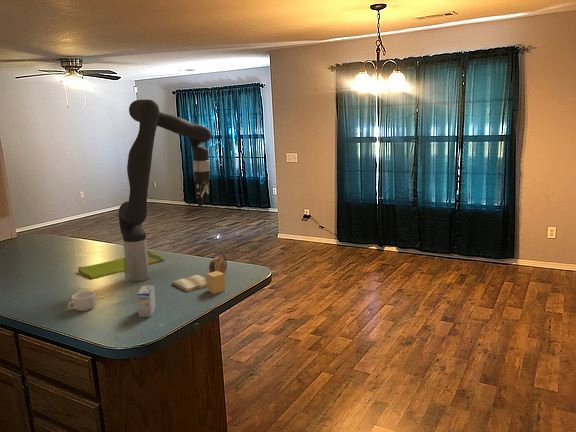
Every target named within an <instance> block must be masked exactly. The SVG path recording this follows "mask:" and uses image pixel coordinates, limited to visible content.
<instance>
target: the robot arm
mask: <svg viewBox="0 0 576 432" xmlns="http://www.w3.org/2000/svg"><path fill="white" fill-rule="evenodd" d="M128 113H129V115H130V117H131V119H132V120H134V121H135V122H138V123H139V128H138V133H137V136H136V139H135V140H134V141H133V144H132V146H131V147H130V150H129V152H128V157H127V165H126V173H127V178H128V184H129V195H128V196H129V198H128V201H125V202H123V203H122V204H121V205H120V206H119V207H118V220H119V221H118V222H119V228H120V234H121V236H122V239H123V240H122V242H123V251H124V253H123V254H124V257H122V258H123V261H124V271H123V272H124V278H125V279H124V280H127V281H128V282H130V283H134V282H142V281H146V280H148V279H150V267H149V266H150V265H149V264H148V253H147V251H148V245H147V243H148V242H147V234H146V231H145V228H144V227H143V225H142V224H143V223H144V222H145V220H146V218H147V215H148V191H149V184H150V177H151V176H150V175H151V169H152V160H153V150H154V144H155V136H156V131H157V129H158V128H157V127H159V128H162V129H165V130H167V131H169V132H172V133H174V134H177V135H180V136H181V137H185V138H188V139H189V144H190V146H191V150H192V153H193V154H192V156H193V158H192V159H193V164H192V165H193V180H194V181H195V182H196V181H197V183H195V184H194V188H195V192H194V193H195V194H194V195H195V198H197V206H199V207H200V206H201V207H202V206H203V205H204V203H209V194H210V193H211V191H210V190H211V189H210V187H211V186H210V180H211V171H210V170H211V167H210V160H209V159H210V157H209V156H210V155H209V149H208V148H207V147H205V146H204V144H203V143H207V142H209V141H210V140H211V137H212V133H211V130H210V128H208V127H206V126H204V125H201V124H197V123H193V122H191V121H189V120H187V119H184V118H182V117H180V116H175V115H173V114H172V115H171V114H168V113H165V112H162V111H160V107H159V104H158V102H156V101H155V100H153V99H136V100H134V101H132V102H131V103H130V105H129V107H128Z"/></svg>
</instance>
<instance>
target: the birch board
mask: <svg viewBox="0 0 576 432" xmlns="http://www.w3.org/2000/svg"><path fill="white" fill-rule="evenodd" d="M171 283H172V285H173V286H175V287H177V288H179V289H181V290H183V291H185V292H187V293H188V292H191V291H194V290H195V291H196V290H198V289H202V288H204V287H205V288H206V287H207V277H204V276H203V275H200V274H195V275H191V276H188V277H183V278H180V279H176V280H172V281H171Z"/></svg>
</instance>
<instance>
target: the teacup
mask: <svg viewBox="0 0 576 432" xmlns="http://www.w3.org/2000/svg"><path fill="white" fill-rule="evenodd" d="M70 304H72V305H73V306H72V307H71V305H70ZM95 304H96V292H95V291H93V290H83V291H80V292H77V293H73V294H72V295H71V301H69V302H68V304H67V307H68V309H70V310H76V311H78V312H86V311H87V312H88V311H89V310H92V309H93V307H94V306H95Z"/></svg>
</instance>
